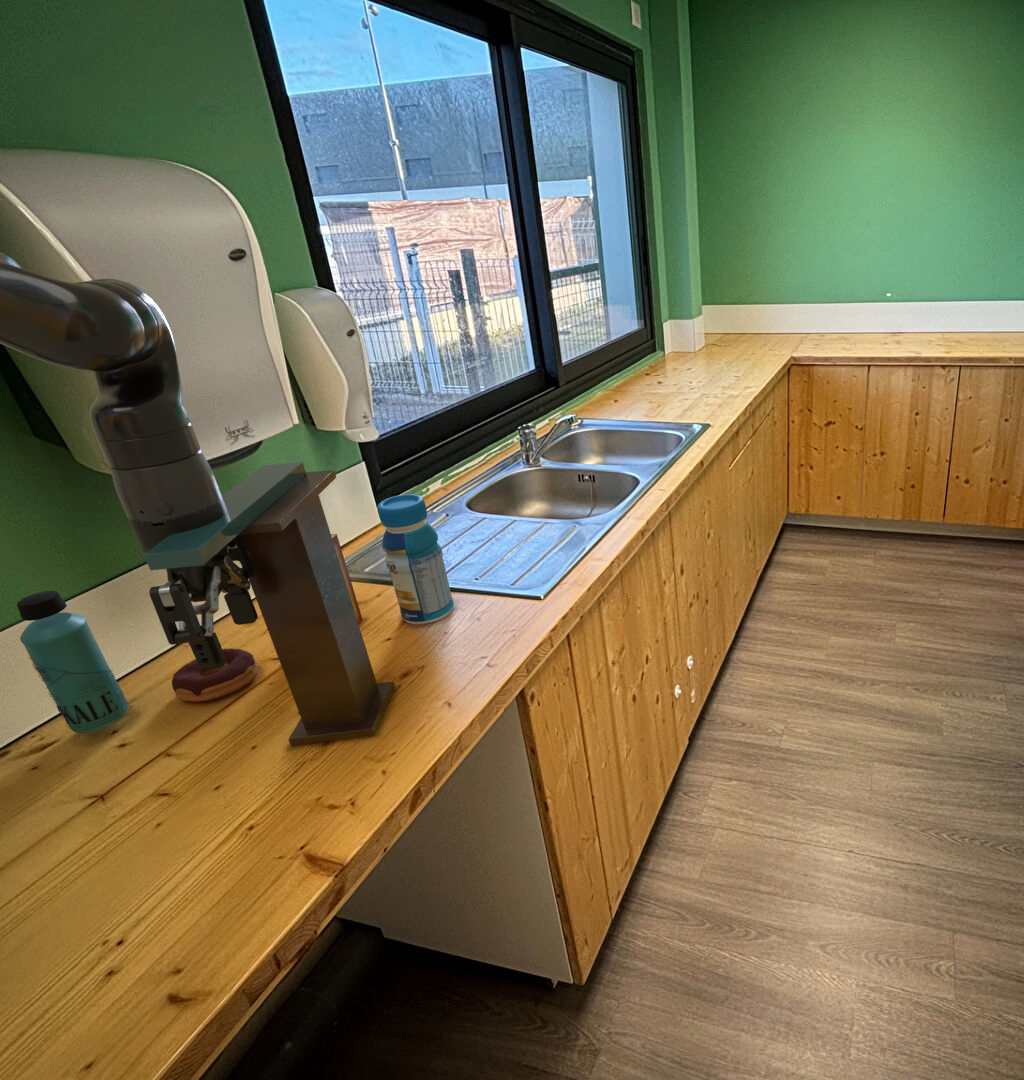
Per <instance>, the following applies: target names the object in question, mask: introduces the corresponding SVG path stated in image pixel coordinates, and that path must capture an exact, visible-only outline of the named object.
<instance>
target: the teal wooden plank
mask: <svg viewBox="0 0 1024 1080" xmlns="http://www.w3.org/2000/svg"><path fill="white" fill-rule="evenodd" d="M306 472H307V471H306V468H305V465H304V462H302V461H299V462H287V463H275V464H273V463H272V464H264V465H262V466H260V467H259V468H258V469H257V470H255V471H254V472H253V473H251V474H250V475H248V476H246V477H247V478H246V477H245V478H246V479H245V478H244V479H245V480H243V479H242V480H243V481H242V480H241V481H242V482H241V481H240V482H241V483H239V482H238V483H239V484H238V483H237V484H238V485H237V484H235V485H236V486H235V485H234V486H235V487H234V486H233V487H234V488H233V487H231V488H232V489H231V488H230V489H231V490H230V489H229V490H230V491H229V490H227V491H228V492H227V491H226V492H227V493H226V492H225V493H226V494H225V493H223V494H224V495H223V494H222V495H223V496H222V498H223V500H224V503H225V506H226V509H227V512H226V514H225V515H224V516H223V517H221V518H220V519H218V520H216V521H214V522H212V523H210V524H208V525H205V526H202V527H200V528H196V529H193V530H190V531H186V532H181V533H177V534H171V535H169V536H168V537H167V538H165V539H164V540H162V541H161V542H160V543H158V544H157V545H156V546H154V547H153V548H152V549H150V550H149V551H148V552H146V553H145V554H143V557H144V559H145V562H146V564H147V566H148V568H149V570H150V571H157V570H166V569H170V568H180V567H191V566H201V565H204V564H205V563H207V562H208V561H209V560H210V559H211V558H212V557H213V556H214V555H216V554H217V553H218V552H219V551H220V550H221V549H222V548H224V547H225V546H226V545H227V544H228V543H229V542H230V541H232V540H233V539H234V538H235V537H236V536H237V535H238V534H239V533H241V532H242V531H243V530H244V529H245V528H246V527H247V526H249V525H250V524H251V523H252V522H253V521H254V520H255V519H256V518H258V517H259V516H260V515H261V514H262V513H263V512H264V511H266V510H267V509H268V508H269V507H270V506H271V505H272V504H274V503H275V502H276V501H277V500H278V499H279V498H280V497H281V496H283V495H284V494H285V493H286V492H287V491H288V490H289V489H291V488H292V487H293V486H294V485H295V484H296V483H297V482H299V481H300V480H301V479H302V478H303V477H304V476H305V475H306Z"/></svg>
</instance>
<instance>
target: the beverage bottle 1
mask: <svg viewBox="0 0 1024 1080" xmlns="http://www.w3.org/2000/svg"><path fill="white" fill-rule="evenodd" d="M16 607H17V610H18V612H19V616H20V617H21V619H22V620H23V621H24V622H25V621H26V622H29V621H32V622H30V623H29V624H28V625H27V626H26V627H25V629H24V630H23V631H22V633H21V635H20V637H19V640H20V642H21V644H22V645H23V646H24V648H25V649H26V652H27V653H28V657H29V660H31V662H32V664H33V665H32V667H33V669H34V670H35V672H37V676H39V679H40V680H41V681H42V683H43V684H45V685H44V686H46V687H45V690H48V692H47V694H48V695H49V697H50V698H51V701H53V703H54V705H55V707H56V710H57V711H58V713H59V715H60V716H61V719H63V720H64V722H65V726H66V727H67V728H68V729H69V730H70V731H72V732H73V733H76V734H91V733H93V732H97V731H101V730H103V729H106V728H108V727H110V726H113V725H114V724H116V723H118V722H119V721H120V720H122V719H123V718H124V717H126V716H127V714H128V712H129V710H130V704H129V699H128V698H127V697H126V696H125V693H124V691H123V689H122V688H121V687H120V686H121V685H119V683H118V680H117V679H116V677H115V674H114V673H113V670H111V668H110V666H109V664H108V662H107V660H106V658H105V656H104V654H103V652H102V650H101V648H100V646H99V644H98V642H97V640H96V638H95V636H94V634H93V632H92V629H91V628H90V626H89V624H88V620H87V618H86V616H83V615H80V614H77V613H73V612H66V611H65V612H64V610H65V609H66V608H67V602H66V601H65V600H64V599H63V597H62V596H61V594H60V593H59V592H58V591H57V590H45V591H41V592H39V591H38V592H35V593H33V594H32V593H31V594H30V595H27V596H25V597H23V598H21V599H20V600H18V601H17V603H16Z"/></svg>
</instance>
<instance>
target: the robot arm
mask: <svg viewBox="0 0 1024 1080" xmlns="http://www.w3.org/2000/svg"><path fill="white" fill-rule="evenodd" d="M0 345H3V346H5V347H7V348H10V349H12V350H15V351H17V352H19V353H21V354H24V355H26V356H29V357H31V358H33V359H36V360H40V361H41V362H45V363H47V364H51V365H54V366H57V367H61V368H64V369H68V370H69V369H70V370H75V371H80V372H88V373H93V375H94V379H95V382H96V386H97V387H96V388H97V395H96V398H95V400H93V402H92V404H91V406H90V407H89V411H88V416H89V417H88V418H89V421H90V424H91V428H92V430H93V433H94V436H95V438H96V441H97V443H98V445H99V448H100V450H101V452H102V455H103V456H104V459H105V461H106V464H107V466H109V470H110V473H111V477H112V482H113V485H114V489H115V491H116V492H115V493H116V494H117V498H118V499H119V501H120V503H121V506H122V508H123V511H124V513H125V515H126V518H127V520H128V523H129V524H130V527H131V528H132V531H133V533H134V536H135V538H136V540H137V542H138V544H139V547H140V549H141V551H142V554H143V555H144V554H145V553H146V552H148V551H149V550H150V549H152V548H153V547H154V546H156V545H157V544H158V543H160V542H161V541H162V540H164V539H165V538H167V537H168V536H169V535H171V534H177V533H181V532H186V531H190V530H193V529H196V528H200V527H202V526H205V525H208V524H210V523H212V522H214V521H216V520H218V519H220V518H221V517H223V516H224V515H225V514H226V512H227V509H226V506H225V503H224V500H223V498H222V495H223V494H222V493H221V491H220V487H219V485H218V482H217V480H216V477H215V474H214V472H213V469H212V467H211V466H210V464H209V462H208V459H206V457H205V455H204V453H203V450H202V448H201V444H200V443H199V440H198V437H197V435H196V432H195V429H194V426H193V425H192V421H191V418H190V416H189V413H188V412H187V409H186V407H185V404H184V400H183V392H182V390H183V389H182V381H181V374H180V369H179V367H180V366H179V361H178V356H177V355H178V353H177V350H176V345H175V339H174V336H173V333H172V329H171V327H170V325H169V322H168V321H167V318H166V317H165V314H164V312H163V311H162V309H161V308H160V307H159V305H158V304H157V302H156V301H155V300H154V299H153V298H152V297H151V296H150V295H149V294H148V293H147V292H145V290H143V289H141V288H140V287H138V286H136V285H134V284H132V283H130V282H127V281H124V280H120V279H115V278H98V279H91V280H86V281H85V280H84V281H79V282H70V281H65V280H61V279H56V278H53V277H48V276H45V275H42V274H39V273H36V272H34V271H31V270H28V269H25V268H22V267H21V266H20V264H18V262H16V260H14V259H13V258H12V257H11V256H9V255H7V254H6V253H4V252H1V251H0ZM235 562H239V564H240V566H241V567H240V566H239V565H237V564H236V563H235ZM165 570H166V577H167V582H165V583H164V584H161V585H157V586H156V585H155V586H151V587H150V588H149V591H148V592H149V593H148V594H149V597H150V600H151V602H152V604H153V607H154V609H155V612H156V614H157V617H158V619H159V622H160V624H161V625H160V626H161V627H162V629H163V630H162V631H163V632H164V635H165V637H166V640H167V643H168V644H169V645H171V646H173V645H174V646H175V645H180V644H187V643H188V645H189V647H190V648H191V651H192V653H193V656H194V658H195V660H196V661H197V663H198V665H199V667H200V668H201V669H204V670H207V669H214V668H221V667H223V665H224V664H225V663H226V661H227V660H226V657H225V655H224V652H223V650H222V649H223V648H222V645H221V643H220V640H219V637H218V635H217V633H216V632H214V630H215V629H214V615H215V614H216V613H217V612H218V611H219V610H220V606H219V605H220V604H219V603H220V601H219V597H220V595H221V593H222V594H224V596H223V598H224V601H225V603H226V606H227V608H228V611H229V613H230V616H231V618H232V621H233V623H234V624H235V625H237V626H242V625H243V626H244V625H250V624H254V623H256V621H257V620H258V618H259V615H258V612H257V609H256V607H255V605H254V601H253V600H252V599H253V598H252V596H251V594H250V592H249V591H250V589H251V584H250V581H249V578H251V577H254V574H255V572H254V568H253V566H252V564H251V561H250V559H249V556H248V554H247V551H246V549H245V546H244V544H243V541H242V539H241V536H240V535H237V536H236V537H235V538H234V539H233V540H232V541H230V542H229V543H228V544H227V545H226V546H225V547H224V548H222V549H221V550H220V551H219V552H218V553H217V554H216V555H214V556H213V557H212V558H211V559H210V560H209V561H208V562H207V563H205V564H204V565H201V566H191V567H180V568H170V569H165ZM192 602H193V603H200V602H204V603H202V604H197V605H196V604H195V605H193V603H192ZM198 615H201V617H200V619H201V620H200V621H201V623H200V621H199V618H198ZM176 623H178V626H177V624H176Z"/></svg>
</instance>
